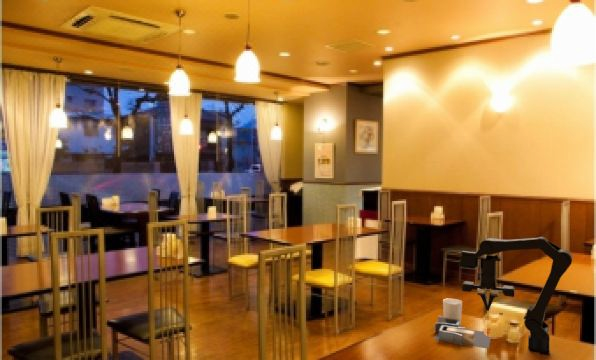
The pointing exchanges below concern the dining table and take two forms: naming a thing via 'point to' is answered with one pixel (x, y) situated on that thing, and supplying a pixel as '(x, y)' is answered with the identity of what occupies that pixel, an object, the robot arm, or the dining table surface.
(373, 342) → the dining table surface
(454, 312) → the white cup
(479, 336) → the mat
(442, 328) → the end cap
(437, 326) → the end cap
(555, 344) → the dining table surface
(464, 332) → the wooden block
